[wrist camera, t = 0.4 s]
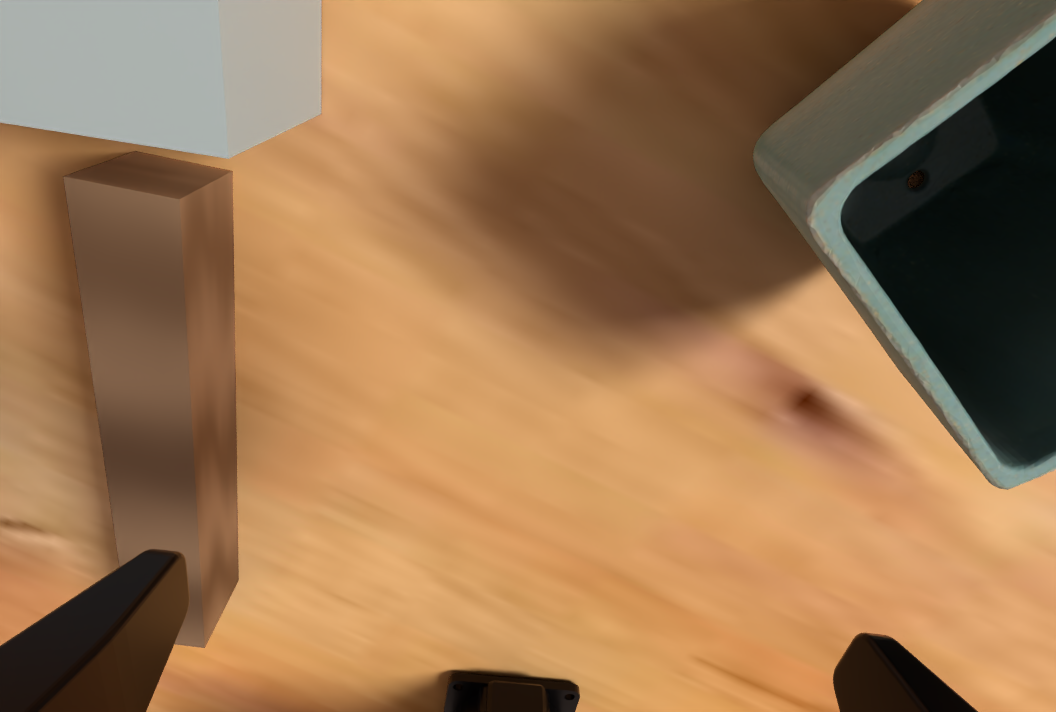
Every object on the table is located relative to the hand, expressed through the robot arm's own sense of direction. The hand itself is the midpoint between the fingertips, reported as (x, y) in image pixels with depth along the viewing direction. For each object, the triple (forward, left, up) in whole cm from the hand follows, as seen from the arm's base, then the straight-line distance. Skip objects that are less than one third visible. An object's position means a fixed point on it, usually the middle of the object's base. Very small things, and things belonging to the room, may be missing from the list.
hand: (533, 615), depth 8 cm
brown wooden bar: (-7, +11, -14) cm, 19 cm away
